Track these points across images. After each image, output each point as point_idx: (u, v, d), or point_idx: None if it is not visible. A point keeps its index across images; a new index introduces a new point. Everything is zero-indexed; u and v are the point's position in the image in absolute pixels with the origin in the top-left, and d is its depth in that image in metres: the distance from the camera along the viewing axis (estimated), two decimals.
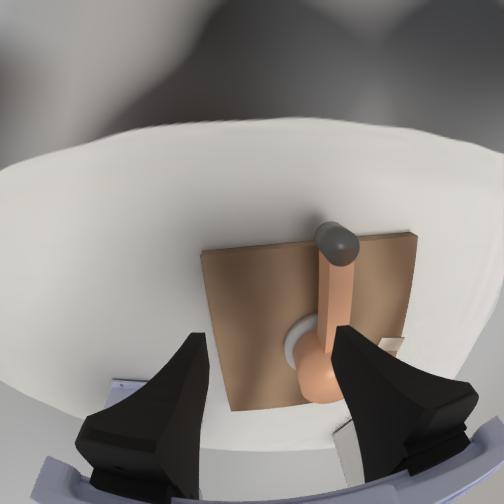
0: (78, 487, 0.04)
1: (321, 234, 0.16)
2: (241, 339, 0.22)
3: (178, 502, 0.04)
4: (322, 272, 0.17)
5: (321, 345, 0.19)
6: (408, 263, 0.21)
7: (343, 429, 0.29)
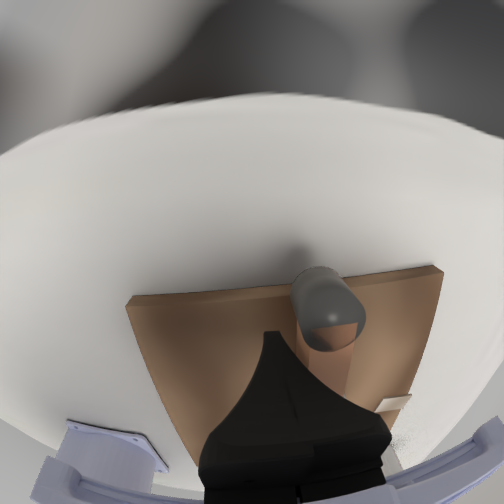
0: (78, 487, 0.04)
1: (299, 294, 0.09)
2: (195, 405, 0.15)
3: (178, 502, 0.04)
4: (300, 348, 0.10)
5: None
6: (427, 309, 0.14)
7: None
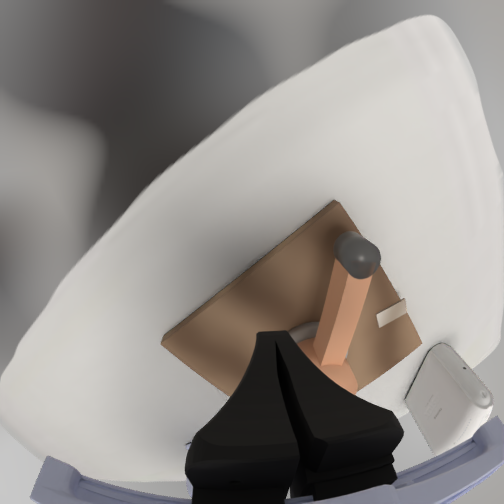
0: (78, 487, 0.04)
1: (343, 242, 0.15)
2: None
3: (178, 502, 0.04)
4: (335, 281, 0.16)
5: (316, 356, 0.18)
6: None
7: (409, 394, 0.26)
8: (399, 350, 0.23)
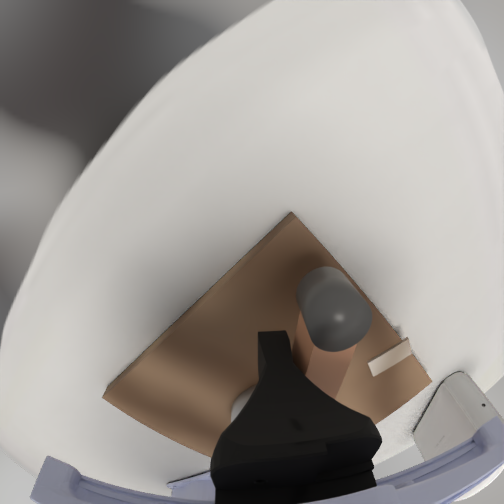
0: (78, 487, 0.04)
1: (309, 290, 0.09)
2: (201, 438, 0.17)
3: (178, 502, 0.04)
4: (299, 346, 0.10)
5: None
6: (317, 264, 0.13)
7: (418, 429, 0.20)
8: (403, 393, 0.16)
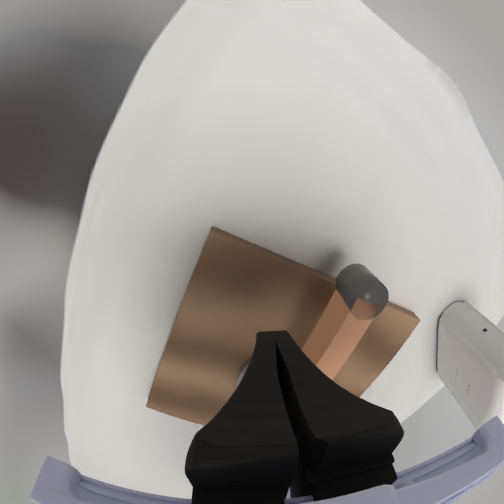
0: (78, 487, 0.04)
1: (351, 275, 0.14)
2: None
3: (178, 502, 0.05)
4: (330, 315, 0.14)
5: None
6: (242, 258, 0.16)
7: (438, 367, 0.22)
8: (392, 338, 0.19)
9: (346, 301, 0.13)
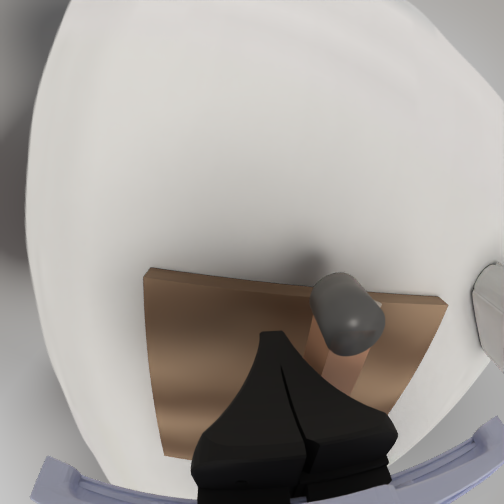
0: (78, 487, 0.04)
1: (323, 296, 0.09)
2: None
3: (178, 502, 0.04)
4: (312, 350, 0.10)
5: None
6: (190, 298, 0.13)
7: (482, 344, 0.16)
8: (417, 337, 0.14)
9: (323, 335, 0.09)
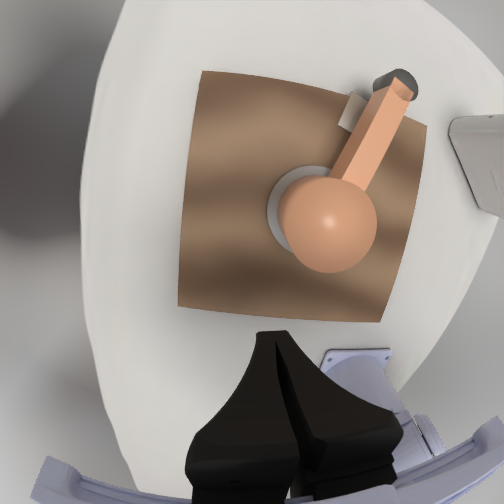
0: (78, 487, 0.04)
1: (386, 74, 0.13)
2: (278, 293, 0.21)
3: (178, 502, 0.04)
4: (372, 103, 0.14)
5: (334, 179, 0.15)
6: (234, 83, 0.16)
7: (476, 196, 0.19)
8: (408, 146, 0.18)
9: (385, 83, 0.13)
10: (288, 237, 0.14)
